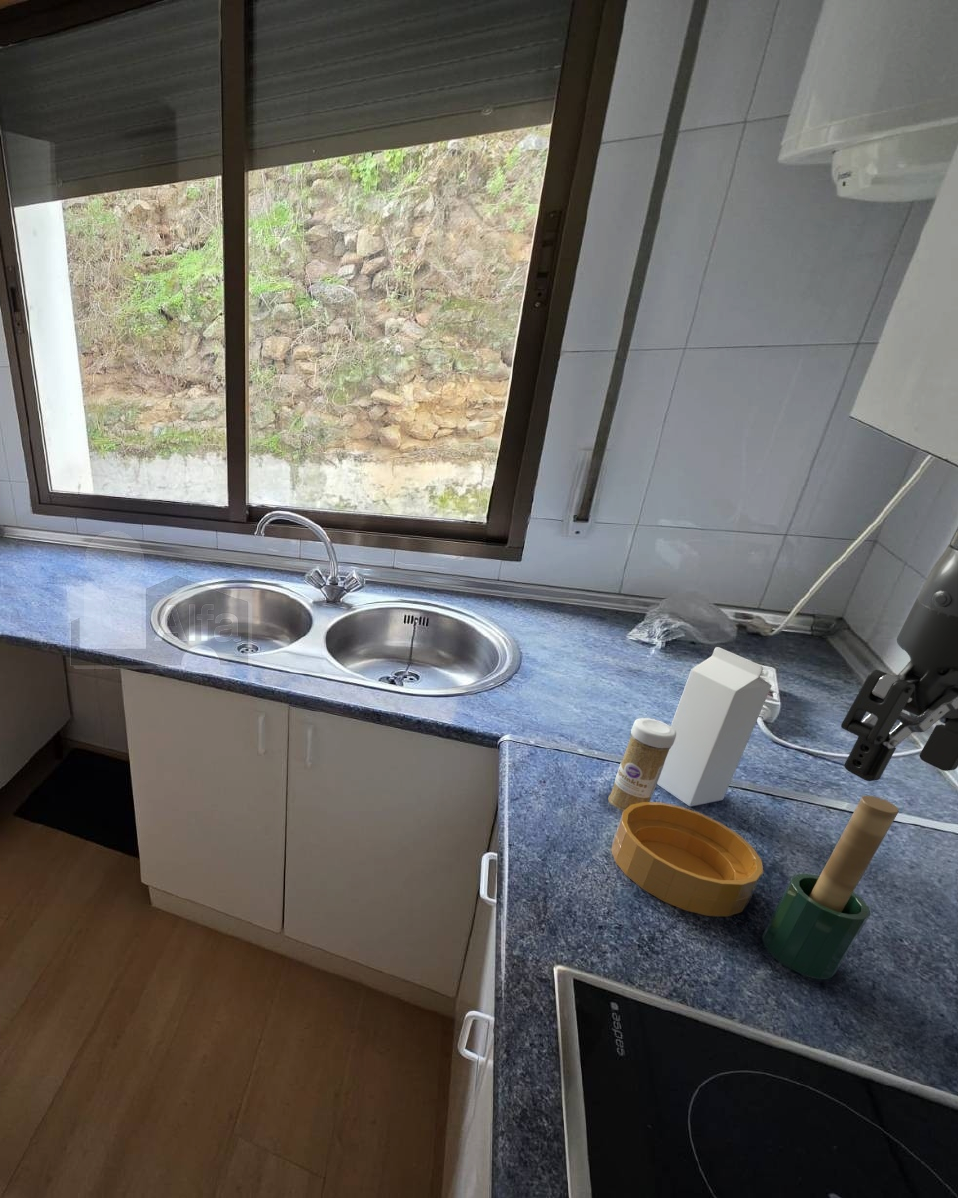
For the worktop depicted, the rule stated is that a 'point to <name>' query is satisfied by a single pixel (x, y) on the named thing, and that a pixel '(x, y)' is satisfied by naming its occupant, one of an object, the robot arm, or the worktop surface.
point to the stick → (853, 852)
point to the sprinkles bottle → (642, 762)
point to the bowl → (686, 858)
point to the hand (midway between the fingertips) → (898, 770)
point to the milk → (713, 727)
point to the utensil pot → (812, 930)
